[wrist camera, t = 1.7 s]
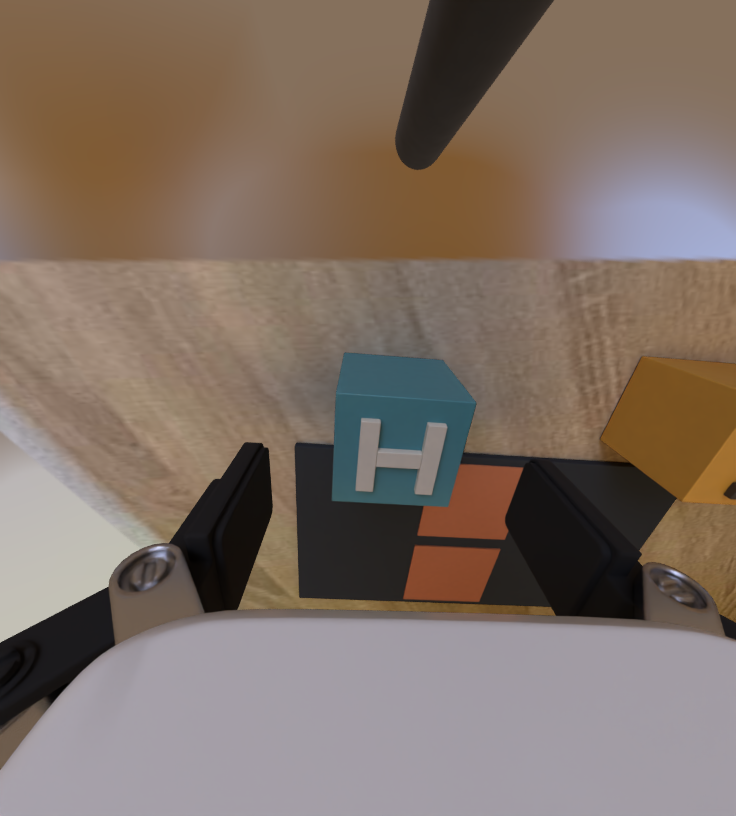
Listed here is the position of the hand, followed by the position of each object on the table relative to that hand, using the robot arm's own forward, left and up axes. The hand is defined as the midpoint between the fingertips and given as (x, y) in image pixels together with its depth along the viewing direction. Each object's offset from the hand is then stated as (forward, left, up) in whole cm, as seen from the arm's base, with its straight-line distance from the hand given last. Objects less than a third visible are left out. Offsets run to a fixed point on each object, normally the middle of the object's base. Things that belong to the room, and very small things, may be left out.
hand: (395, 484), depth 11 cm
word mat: (+9, +7, -6) cm, 13 cm away
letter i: (-2, +15, -6) cm, 16 cm away
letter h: (-1, 0, -6) cm, 6 cm away
